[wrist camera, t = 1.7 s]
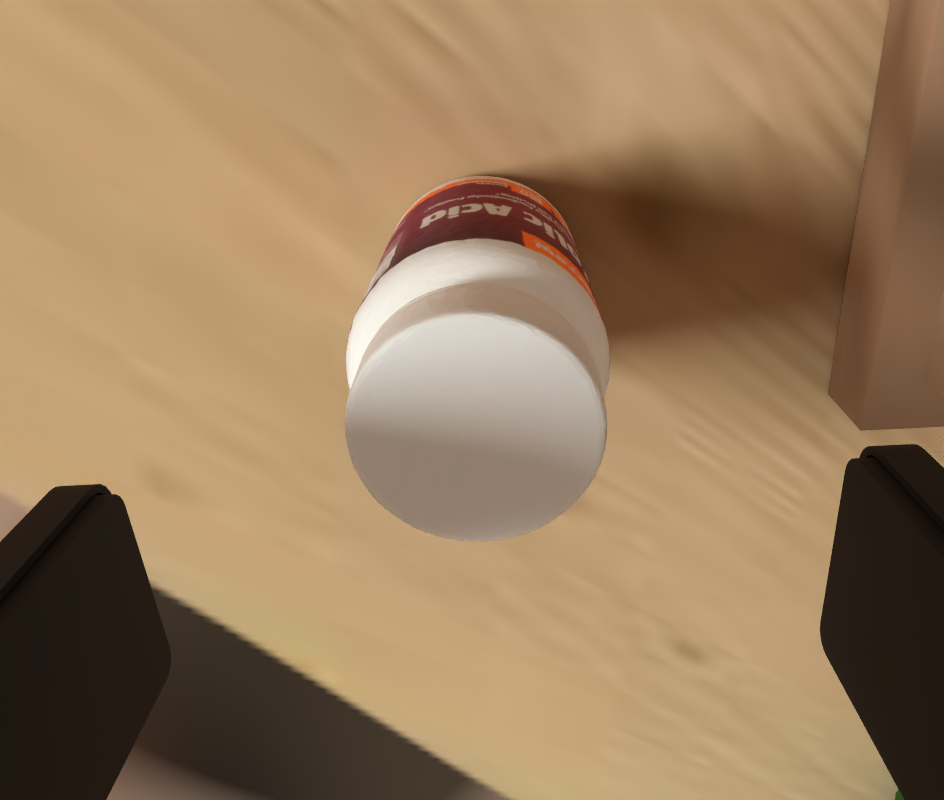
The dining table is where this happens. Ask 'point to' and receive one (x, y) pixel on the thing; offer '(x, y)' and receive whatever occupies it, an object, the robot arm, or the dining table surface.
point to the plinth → (899, 238)
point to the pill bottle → (478, 366)
